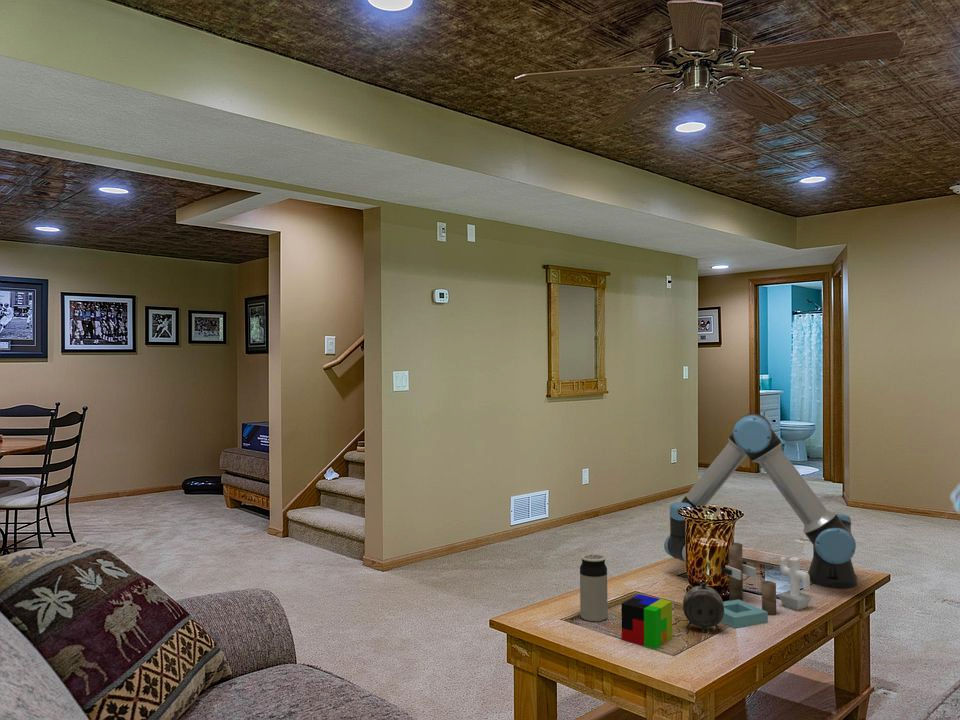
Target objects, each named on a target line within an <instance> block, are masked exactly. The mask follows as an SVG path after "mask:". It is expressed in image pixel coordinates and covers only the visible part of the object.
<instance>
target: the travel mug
mask: <svg viewBox="0 0 960 720" xmlns="http://www.w3.org/2000/svg"><path fill="white" fill-rule="evenodd" d="M580 559H581V564H580V567H579V601H580V606H579V607H580V610H579V611H580V614H579V615H580V616H579V617H580V618H581V619H583V620H585V621H589V622H595V623H596V622H602V621H605V620H606V619H608V606H609V605H608V566H607V565H606V559H607V557H606V555H603V554H600V553H584V554H582V555H580Z"/></svg>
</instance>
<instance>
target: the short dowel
mask: <svg viewBox="0 0 960 720" xmlns="http://www.w3.org/2000/svg"><path fill="white" fill-rule="evenodd" d="M761 609H762V610H764V611H767V612H768V616H776V615H777V583H776V582H775V581H771V580H764V581H761Z"/></svg>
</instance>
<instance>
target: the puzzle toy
mask: <svg viewBox="0 0 960 720" xmlns="http://www.w3.org/2000/svg"><path fill="white" fill-rule="evenodd" d="M672 605H673V601H672V600H667V599H663V598H657V597H652V596H648V595H644V594H639V593H638V594H636V595H635V596H633V597H630V598H629V599H627V600H626V601H624V602H622V603H621V606H620V607H621V641H624V642H628V643H631V644H635V645H639V646H643V647H646V648H651V649H653V650H656V649H658V648H660V647H661V646H662V645H663V644H666V642H668V641H669V640H671V639H673V606H672Z"/></svg>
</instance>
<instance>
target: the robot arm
mask: <svg viewBox="0 0 960 720" xmlns="http://www.w3.org/2000/svg"><path fill="white" fill-rule="evenodd" d="M782 445H783V442H782V441H781V439H780V438H779V436H778V435H777V433H775V431H774V430H773V428H772V425H771V423H770V421H769V420H768V419H767V418H766V417H765V416H764V415H761V414H758V413H748V414H746V415H744V416H742V417H740V418H739V420H738V421H736V423H735V425H734V426H733V432H732V433H731V434H730V435H729V436H728V443H727V444H726V445H725V446H724V447H723V448H722V450H721V451H720V452H719V454H718V455H717V456H716V457H715V459H714V460H713V461H712V462H711V464H710V465H709V466H708V467H707V469H706V470H705V471H704V472H703V474H702V475H701V476H700V477H699V478H698V479H697V481H696V482H695V484H694V485H693V486H692V487H691V488H690V490H689V491H688V492H687V493H686V495H685V496H684V497H683V498H682V499H681V500H680V502H673V503H670V506H669V530H670V532H669V536H667V537H666V538H665V541H664V543H663V548H664V551H665V552H666V554H667V555H668V556H670V557H672V558H674V559H675V560H679V561H682V562H684V563H687V562H686V553H685V521H684V518H683V517H682V516H681V515H679V514H678V512H677V511H678V509H680V508H683V507H696V506H705V507H706V506H707V504H709V502H710V501H711V500H712V499H713V497H714V496H715V495H716V494H717V492H718V491H720V489H721V488H722V486H724V484H725V483H726V482H727V480H729V478H730V477H731V476H732V475H733V473H734V472H735V471H736V470H737V469H738V467H739V466H740V465H741V464H742V462H744V460H745V459H746V457H748V458H749V460H750V461H751V462H753V463H757V464H759V466H760V467H761V468H762V469H763V471H764V473H766V475H767V476H768V478H769V479H770V480H771V482H772V483H773V485H775V486H774V487H776V488H777V490H778V491H779V493H780V494H781V495H782V497H783V498H784V500H785V501H786V502H787V503H788V504H789V506H790V508H791V509H792V510H793V512H794V513H795V514H796V516H797V517H798V518H799V520H800V521H801V522H802V524H803V533H804V534H805V536H806V537H807V539H809V541H810V543H811V544H812V545H813V547H812V550H813V551H812V553H813V555H812V556H813V557H812V559H811V562H810V565H809V569H808V570H807V573H808V574H809V576H810V583H814V584H816V585H820V586H823V587H830V588H838V589H839V588H841V589H844V588H853V587H857V585H858V576H857V574H856V573H855V568H854V565H853V562H852V558H853V557H854V555H855V554H856V548H857V545H856V544H857V543H856V539H855V538H854V536H853V534H852V529H851V528H852V526H851V525H852V520H851V516H850V515H848V514H843V513H836V512H833V511H829V510H827V508H826V507H825V505H824V504H823V502H822V501H821V500H820V499H819V497H818V496H817V495H816V493H815V492H814V491H813V489H812V488H811V487H810V485H809V484H808V482H806V480H805V479H804V477H803V475H801V473H800V472H799V471H798V470H797V468H796V467H795V465H794V464H793V463H792V462H791V460H790V458H789V457H788V456H787V455H786V453H785V452H784V450H783V449H782ZM722 573H724V575H726V576H728V577H729V576H731V577H733V578H736V579H738V580H741V570H738V569H735V568H733V567H730V566H727V565H725V568H722ZM743 575H746V576H748V577H752V578H753V579H754V578H755V579H756V578H757V568H755V567H753V566H749V565H747V561H745V560H743Z"/></svg>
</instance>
